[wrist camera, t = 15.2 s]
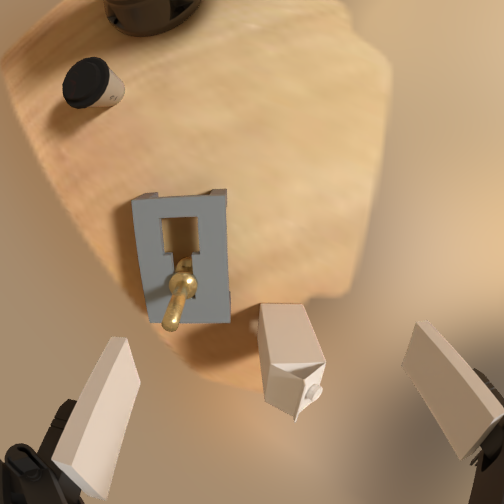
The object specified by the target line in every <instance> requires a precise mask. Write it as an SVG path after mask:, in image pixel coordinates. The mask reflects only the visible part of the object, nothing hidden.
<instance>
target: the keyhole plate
mask: <svg viewBox="0 0 504 504" xmlns="http://www.w3.org/2000/svg"><path fill="white" fill-rule="evenodd" d="M131 202H132V212H133V222H134V230H135V238H136V246H137V253H138V260H139V267H140V273H141V279H142V285H143V291H144V296H145V301H146V307H147V312H148V317H149V321H150V323H162V320H163V317H164V315H165V312H166V309H167V307H168V304H169V302H170V299H171V297H172V293H171V291H170V289H169V281H170V279H171V277H172V275H173V274H174V273H175V271H174V262H173V253H172V252H164V242H163V233H162V222H161V218H174V217H198V232H199V248H200V251H199V252H193V253H192V265H193V275H194V276H195V277H196V279H197V281H198V287H197V291H196V293H195V295H194V296H193V297H191V298H189V299H186V301H185V305H184V308H183V311H182V315H181V318H180V322H179V323H230V319H231V296H230V291H229V277H228V253H227V225H226V207H227V189H213V190H212V191H211V193H210V195H188V196H169V197H158V192H155V193H144V194H143V195H141V196H139V197H137V198H135V199H133V200H131Z"/></svg>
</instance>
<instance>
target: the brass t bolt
mask: <svg viewBox="0 0 504 504" xmlns="http://www.w3.org/2000/svg"><path fill="white" fill-rule="evenodd" d="M197 287H198V281H197V279H196V277H195V276H194V275H193V265H192V257H184V258H182V259H181V260H180V261H179V262H178V264H177V266H176V269H175V273H174V274H173V275H172V277H171V279H170V281H169V289H170V291H171V293H172V297H171V299H170V302H169V304H168V307H167V309H166V312H165V315H164V317H163V320H162V327H163V328H164V329H165V330H166V331H169V332H173V331H176V330H177V328H178V325H179V322H180V318H181V315H182V311H183V308H184V305H185V301H186V299H189V298H191V297H193V296H194V295H195V293H196V291H197Z"/></svg>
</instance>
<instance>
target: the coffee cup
mask: <svg viewBox="0 0 504 504" xmlns="http://www.w3.org/2000/svg"><path fill="white" fill-rule="evenodd" d="M62 85H63V88H62V89H63V96H64V98H65V100H66V102H67V103H68V104H69V105H70V106H71V107H74V108H77V109H81V108H87V107H110V106H114V105H116V104H117V103H119V102H120V101H121V99H122V98H123V96H124V94H125V85H124V83H123V82H122V81H121V80H120V79H119V78H118V77H117V76H116V74H115V73H114V72H113V71H112V70H111V69H110V68H109V67H108V66H107V64H106V62H105V61H103V60H102V59H101V58H97V57H90V58H85V59H83V60H81V61H79V62H77V63H76V64H75V65H74V66H72V67H71V69H70V70H69V71H68V73H67V74H66V77H65V79H64V82H63V84H62Z"/></svg>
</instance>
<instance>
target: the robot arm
mask: <svg viewBox="0 0 504 504" xmlns="http://www.w3.org/2000/svg"><path fill="white" fill-rule="evenodd" d="M103 1H104V7H105V12H106V16H107V18H108V20H109V21H110V23H111V24H112V25H113V26H114V27H115V28H116V29H118V30H119V31H120V32H122V33H124V34H127V35H130V36H138V37H144V36H152V35H156V34H160V33H163V32H166V31H168V30H170V29H173V28H174V27H176V26H178V25H180V24H181V23H183V22H184V21H185V20H186V19H188V18H189V17H190V16H191V15H192V14H193V13H194V12H195V10H196V9H197V8H198V6H199V4H200V2H201V0H103ZM402 367H403V369H404V370H405V372H406V373H407V375H408V376H409V378H410V379H411V381H412V382H413V384H414V386H415V387H416V389H417V390H418V392H419V393H420V395H421V396H422V398H423V400H424V401H425V403H426V404H427V406H428V407H429V409H430V411H431V412H432V414H433V416H434V417H435V419H436V421H437V422H438V424H439V426H440V427H441V429H442V431H443V432H444V434H445V436H446V437H447V439H448V441H449V443H450V444H451V446H452V447H453V449H454V451H455V453H456V455H457V457H458V458H459V460H460V461H461V460H462V459H464V458H466V457H468V456H470V455H472V454H473V453H474V452H475V451H476V449H477V448H478V447H479V446H481V448H482V450H481V451H480V452H479V453H478V455H477V456H476V457H475V458H474V459H473V460H472V461H471V464H470V465H473V464H474V463H475V461H476V460H477V459H478V462H477V463H476V464H475V466H477V468H476V474H475V478H474V483H473V487H472V491H471V495H470V499H469V503H468V504H504V398H503V397H502V396H501V394H500V393H499V392H498V391H497V389H494V386H493V385H492V384H491V383H490V382H489V380H488V379H487V378H486V377H485V375H484V374H483V373H481V372H480V371H478V370H477V369H475V368H474V369H472V368H471V367H470V366H469V365H468V364H467V363H466V361H465V360H464V359H463V358H462V357H461V356H460V355H459V353H458V352H457V351H456V350H455V349H454V348H453V347H452V346H451V345H450V344H449V342H447V340H446V339H445V338H444V337H443V336H442V335H441V334H440V333H439V332H438V330H437V329H436V328H435V327H434V326H433V325H432V324H431V323H430V322H429V321H428V320H426V321H420V322H416V324H415V327H414V330H413V333H412V337H411V340H410V343H409V346H408V349H407V352H406V354H405V357H404V360H403V363H402ZM139 386H140V379H139V376H138V373H137V370H136V367H135V364H134V361H133V357H132V354H131V350H130V347H129V344H128V340H127V338H124V337H123V338H122V337H111V338H110V340H109V342H108V344H107V345H106V347H105V349H104V351H103V353H102V354H101V356H100V358H99V360H98V362H97V364H96V366H95V368H94V370H93V371H92V373H91V375H90V377H89V379H88V381H87V383H86V385H85V387H84V389H83V391H82V393H81V395H80V397H79V399H78V401H75V400H71V399H68V400H67V401H66V402H64V403H63V404H62V405H61V406H60V407H59V409H58V411H57V413H56V415H55V419H53V421H52V423H51V427H49V429H48V431H47V433H46V435H45V437H44V439H43V442H42V444H41V446H40V448H39V450H38V452H37V453H36V452H35V451H34V450H33V449H32V448H31V447H30V446H28V445H26V444H22V443H21V444H15V445H14V446H12V447H10V448H9V449H8V451H7V453H6V455H5V463H3V462H2V461H1V460H0V504H84V502H83V500H82V498H81V497H80V492H81V490H82V491H83V492H85V493H86V494H87V495H88V496H91V497H94V498H98V499H101V500H105V501H106V500H107V497H108V493H109V488H110V484H111V481H112V477H113V473H114V469H115V466H116V462H117V458H118V455H119V451H120V447H121V444H122V440H123V437H124V434H125V431H126V427H127V424H128V421H129V417H130V414H131V411H132V408H133V404H134V402H135V398H136V395H137V392H138V389H139Z"/></svg>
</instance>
